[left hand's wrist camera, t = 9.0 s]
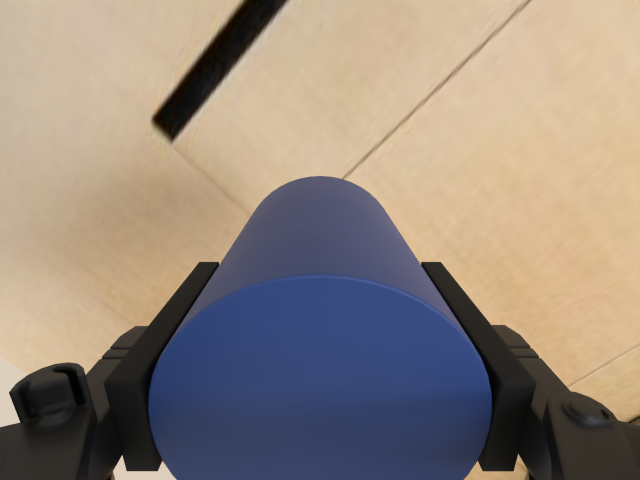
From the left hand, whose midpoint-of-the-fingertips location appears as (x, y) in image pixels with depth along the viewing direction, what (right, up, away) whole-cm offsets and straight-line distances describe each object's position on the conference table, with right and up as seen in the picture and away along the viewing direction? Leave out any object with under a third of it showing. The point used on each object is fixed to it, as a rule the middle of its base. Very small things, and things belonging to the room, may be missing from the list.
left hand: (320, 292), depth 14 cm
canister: (0, +2, +4) cm, 5 cm away
